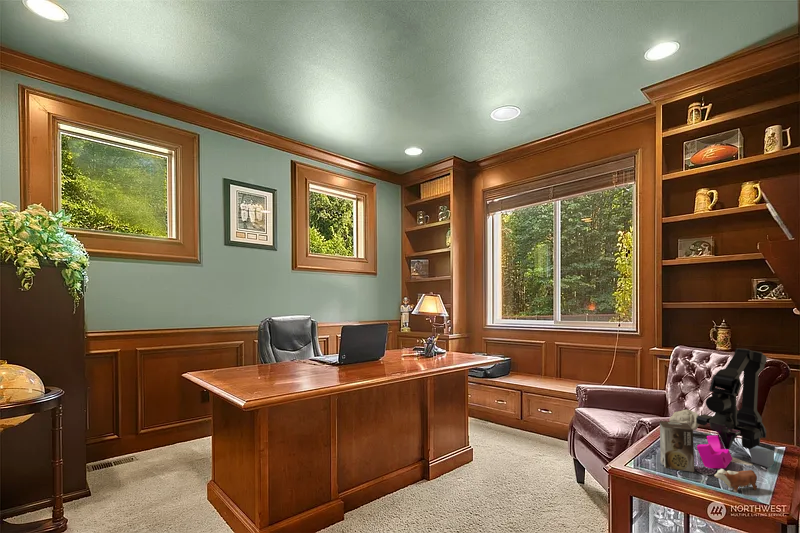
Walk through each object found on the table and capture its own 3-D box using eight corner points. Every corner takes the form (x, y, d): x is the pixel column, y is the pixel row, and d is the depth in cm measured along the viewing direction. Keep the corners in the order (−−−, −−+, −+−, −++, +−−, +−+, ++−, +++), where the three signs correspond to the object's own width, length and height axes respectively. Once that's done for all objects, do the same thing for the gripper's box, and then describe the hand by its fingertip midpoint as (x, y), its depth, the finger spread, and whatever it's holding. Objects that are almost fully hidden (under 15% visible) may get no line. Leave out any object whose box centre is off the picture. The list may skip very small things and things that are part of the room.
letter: (721, 453, 160) (721, 453, 160) (753, 464, 151) (753, 464, 151) (705, 460, 154) (705, 460, 154) (736, 472, 146) (736, 472, 146)
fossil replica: (665, 427, 186) (665, 405, 186) (680, 426, 188) (680, 404, 188) (690, 438, 174) (689, 415, 174) (705, 436, 176) (705, 413, 176)
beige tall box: (688, 467, 150) (687, 422, 150) (694, 475, 144) (694, 429, 144) (659, 463, 153) (659, 420, 153) (664, 471, 147) (664, 426, 147)
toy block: (725, 468, 144) (716, 445, 146) (705, 468, 148) (696, 446, 150) (735, 455, 154) (726, 434, 156) (716, 455, 158) (707, 435, 160)
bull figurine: (712, 491, 134) (711, 466, 134) (750, 489, 135) (749, 464, 135) (723, 499, 129) (723, 473, 129) (763, 496, 130) (762, 470, 130)
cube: (757, 458, 156) (757, 445, 156) (774, 464, 151) (773, 450, 151) (750, 461, 153) (750, 448, 153) (767, 467, 149) (767, 453, 149)
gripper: (688, 403, 159) (688, 444, 159) (746, 418, 143) (747, 464, 143) (703, 399, 165) (703, 438, 164) (761, 413, 148) (762, 457, 148)
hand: (727, 448), depth 155 cm, fingers closed
